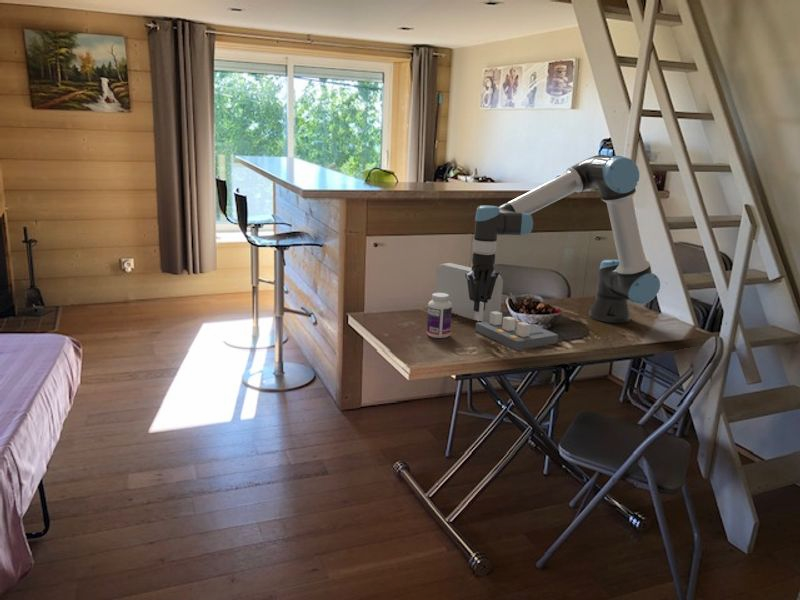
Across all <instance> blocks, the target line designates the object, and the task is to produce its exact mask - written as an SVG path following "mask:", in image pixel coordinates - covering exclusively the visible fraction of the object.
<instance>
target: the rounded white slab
mask: <svg viewBox="0 0 800 600" xmlns="http://www.w3.org/2000/svg"><path fill="white" fill-rule="evenodd" d="M471 269H472V267H470V266H466V265H462V264H461V265H460V264H458V263H452V262H447V263H441V264H438V265H437V266H436V269H435V280H434V281H435V282H434V293H446V294H448V295H449V299H448V301H449V302H451V304H452V312H451V314H453V313H454V314H453V315H456V314H457V316H460V317H463V318H467V319H470V320H474V321H476V320H475V319H474V317H475V311H474V301H472V300H470V299H469V291H468V283H467V279H466V277H465V274H466V273H470V272H471ZM474 282H475V281H474ZM503 286H504V280H503V277H502V276H501V275H500V274H499V276H498V277H497V279H496V282H495V286H494V289H493V293H492V296H491V299H490V300H487V301H488V302H487V303H485V310H484V311H483V321H481V322H485V321H489V320H490V312H494V311H498V312H500V313H501V311H502V310H501V308H502V298H503Z"/></svg>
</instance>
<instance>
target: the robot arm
mask: <svg viewBox="0 0 800 600" xmlns="http://www.w3.org/2000/svg"><path fill="white" fill-rule="evenodd" d="M639 180H640V170H639V167H638V165H637V164H636V163H635V161H634V160H632V159H630V158H629V157H625V156H622V155H605V154H597V155H593V156H591V157H589V158H586V159H584V160H582V161H580V162H578V163H576V164H574V165H571V166H570V167H568V168H567V169H566V171H565V172H564V173H562V174H561V175H559V176H557V177H555V178H553V179H550V180H548V181H547V182H545V183H543V184H542V185H539V186H537V187H535V188H533V189H531V190H530V191H527V192H526V193H524V194H522V195H519V196H517V197H516V198H514V199H512V200H510V201H508V202H506V203H503V204H501V205H499V206H496V205H488V204H487V205H479V206H477V208H476V212H475V217H474V234H473V235H474V237H473V248H472V250H473V252H472V258H471V263H472V267H471V268H472V269H471V272H470V273H466V274H465V277H466V279H467V283H468V291H469V299H470V300H472V301H474V311H475V317H474V319H475V320H474V321H476V320H477V321H476V322H479V321H483V311H484V310H485V303H487V302H488V301H487V300H490V299H491V296H492V293H493V289H494V286H495V282H496V279H497V277H498V276H499V275H500V273H499V272H498V271H496V270H495V268H494V265H495V261H496V254H495V253H496V252H497V242H498V241H497V239H498V236H527V235H530V234H531V232H532V231H533V227H534V220H533V216H532V214H533V213H536V212H538V211H540V210H543V208H546V207H548V206H550V205H551V204H554V203H555V202H557V201H559V200H562V199H563V198H565V197H568V196H569V195H571V194H574V193H581V192H584V191H586V190H589V189H590V190H591V189H598V192H599V197H600V200H601V201H603V202H604V203H606V206H607V213H608V215H609V216H608V217H609V220H610V226H611V230H612V231H611V232H612V235H613V241H614V244H615V249H616V254H617V258H618V259H603V260H602V261H601V262H600V265H599V269H598V273H599V274H598V281H597V287H596V294H595V295H596V296H595V299H594V300H593V301H592V302H593V303H592V305H591V307H590V309H589V314H588V315H589V317H590V318H591V319H593V320H595V321H598V322H603V323H611V324H612V323H613V324H624V323H628V322H630V319H631V313H630V308H629V307H630V306H629V303H628V301H630V302H631V303H635V304H636V303H637V304H640V305H643V304H648V303H650V302H651V301H653V300H654V299H655V298H656V297H657V295H658V294H659V291H660V289H661V281H660V278H659V277H658V276H657V275H656V274H655V273H653V272H652V267H651V262H649V261H648V260H647V259H645V256H644V250H643V245H642V240H641V236H640V235H641V234H640V230H639V225H638V220H637V215H636V210H635V205H634V200H633V196H634V195H635V193H637V190H636V187H637V186H638V182H639ZM474 281H475V282H474Z"/></svg>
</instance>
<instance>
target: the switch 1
mask: <svg viewBox="0 0 800 600" xmlns="http://www.w3.org/2000/svg"><path fill="white" fill-rule="evenodd" d="M502 319H503V312H501V311H500V312H498V311H494V312H490V320H489V323H491V324H493V325H500V324H502Z"/></svg>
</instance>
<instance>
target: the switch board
mask: <svg viewBox="0 0 800 600" xmlns="http://www.w3.org/2000/svg"><path fill="white" fill-rule="evenodd" d="M520 322H521V321H519V320H517V319H516V321H515V330H512V331H506V330H504V329H502V324H503V318H502V324H500V325H493V324H491V323H489V321H485V322H479V321H477V322H475V326H474V327H475V329H474V330H475V331H474V332H476V331H477V333H478V332H479V333H478V334H480V335H483V336H485V337H487V338H489V339H491V338H492V339H491V340H493V339H494V340H493V341H495V340H496V342H497V341H498V343H499V344H502V345H504V344H505V345H504V346H506V347H508V346H509V347H508V348H510V347H511V349H512V348H513V349H512V350H514V349H515V350H514V351H521V350H526V349H533V348H538V347H544V346H550V345H554V344H555V343H556V344H558V340H559V334H557V333H554V331H553V332H552V331H550V330H548V329H545V328H542V327H540V326H539V325H538V326H537V325H536V324H532V323H530V332H529V336H526V337H521V336H519V335H516V331H517V323H520ZM549 344H550V345H549ZM556 344H555V345H556ZM543 345H544V346H543Z"/></svg>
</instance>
